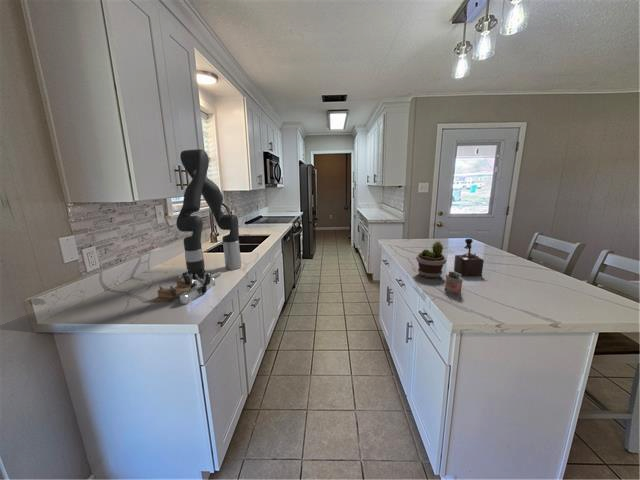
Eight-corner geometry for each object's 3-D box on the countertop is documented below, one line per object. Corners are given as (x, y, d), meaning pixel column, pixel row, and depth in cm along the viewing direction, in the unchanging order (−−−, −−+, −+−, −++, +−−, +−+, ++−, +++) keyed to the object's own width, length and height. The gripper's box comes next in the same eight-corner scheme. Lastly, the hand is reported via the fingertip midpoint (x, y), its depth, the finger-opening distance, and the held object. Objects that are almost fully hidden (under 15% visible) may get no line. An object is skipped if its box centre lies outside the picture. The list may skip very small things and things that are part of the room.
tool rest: (183, 284, 132) (181, 273, 131) (197, 285, 131) (195, 274, 130) (154, 300, 114) (152, 288, 113) (169, 301, 113) (167, 289, 112)
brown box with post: (483, 276, 135) (487, 243, 131) (462, 276, 135) (466, 244, 131) (467, 267, 150) (470, 237, 146) (448, 267, 150) (451, 237, 146)
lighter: (442, 289, 119) (444, 269, 117) (447, 288, 121) (449, 268, 119) (457, 296, 112) (459, 275, 110) (462, 295, 114) (465, 274, 111)
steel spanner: (210, 284, 132) (209, 277, 131) (216, 284, 131) (215, 277, 131) (179, 305, 110) (177, 296, 109) (185, 305, 109) (184, 297, 108)
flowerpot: (422, 281, 130) (425, 243, 126) (411, 271, 145) (413, 237, 141) (450, 280, 131) (454, 242, 126) (436, 270, 146) (438, 236, 141)
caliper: (205, 287, 129) (204, 275, 127) (203, 287, 129) (202, 275, 127) (222, 273, 149) (221, 263, 147) (220, 273, 149) (219, 263, 147)
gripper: (213, 256, 119) (217, 290, 123) (186, 256, 122) (191, 288, 125) (203, 261, 112) (208, 297, 116) (175, 260, 114) (180, 295, 118)
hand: (199, 292), depth 120 cm, fingers open, 4 cm apart
